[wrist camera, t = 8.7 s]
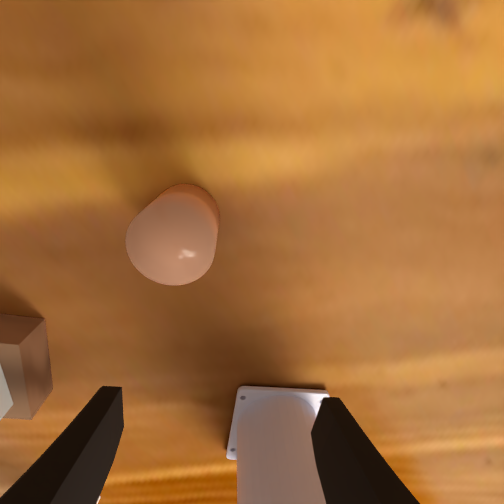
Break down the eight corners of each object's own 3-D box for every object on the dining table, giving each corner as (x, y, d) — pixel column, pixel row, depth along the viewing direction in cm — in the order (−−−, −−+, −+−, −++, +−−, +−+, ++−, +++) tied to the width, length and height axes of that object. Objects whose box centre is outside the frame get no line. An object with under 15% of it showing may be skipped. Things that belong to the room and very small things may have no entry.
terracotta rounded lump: (216, 249, 18) (210, 289, 14) (154, 242, 18) (126, 281, 13) (223, 188, 17) (219, 210, 12) (154, 179, 16) (123, 198, 11)
